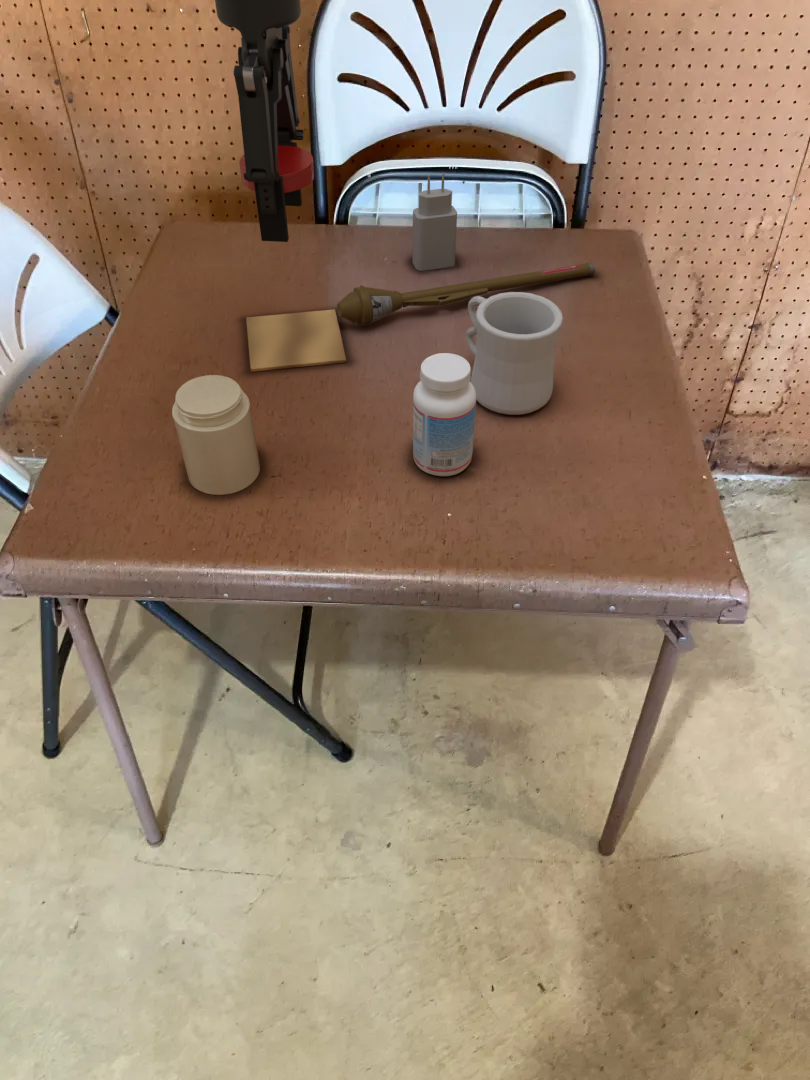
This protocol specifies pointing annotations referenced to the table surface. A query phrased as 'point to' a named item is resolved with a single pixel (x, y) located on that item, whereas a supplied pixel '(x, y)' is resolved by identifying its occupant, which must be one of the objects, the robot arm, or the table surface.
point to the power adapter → (434, 229)
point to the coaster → (294, 340)
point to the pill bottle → (444, 415)
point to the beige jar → (216, 434)
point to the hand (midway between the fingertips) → (282, 221)
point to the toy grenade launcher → (442, 293)
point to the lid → (289, 168)
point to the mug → (513, 350)
